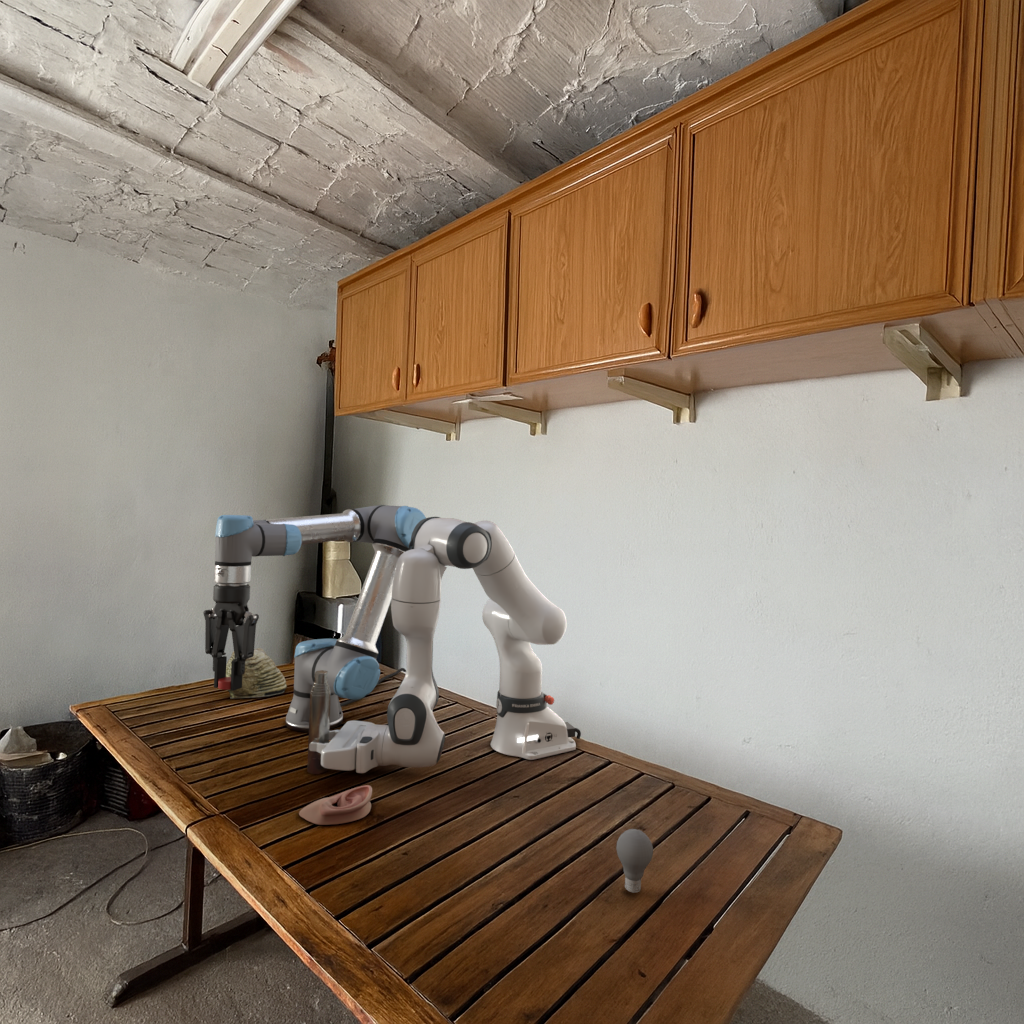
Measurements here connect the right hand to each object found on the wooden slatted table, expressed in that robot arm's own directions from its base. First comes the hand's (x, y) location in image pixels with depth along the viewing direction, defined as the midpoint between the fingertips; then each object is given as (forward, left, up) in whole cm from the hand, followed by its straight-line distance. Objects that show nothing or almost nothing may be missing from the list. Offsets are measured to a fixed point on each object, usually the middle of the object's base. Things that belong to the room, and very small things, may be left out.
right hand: (314, 740), depth 147 cm
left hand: (+19, -3, +13) cm, 23 cm away
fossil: (+12, -61, -7) cm, 62 cm away
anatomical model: (-2, +22, -7) cm, 23 cm away
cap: (+19, -3, +14) cm, 24 cm away
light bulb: (-45, +63, -7) cm, 78 cm away
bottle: (-1, 0, -7) cm, 7 cm away
